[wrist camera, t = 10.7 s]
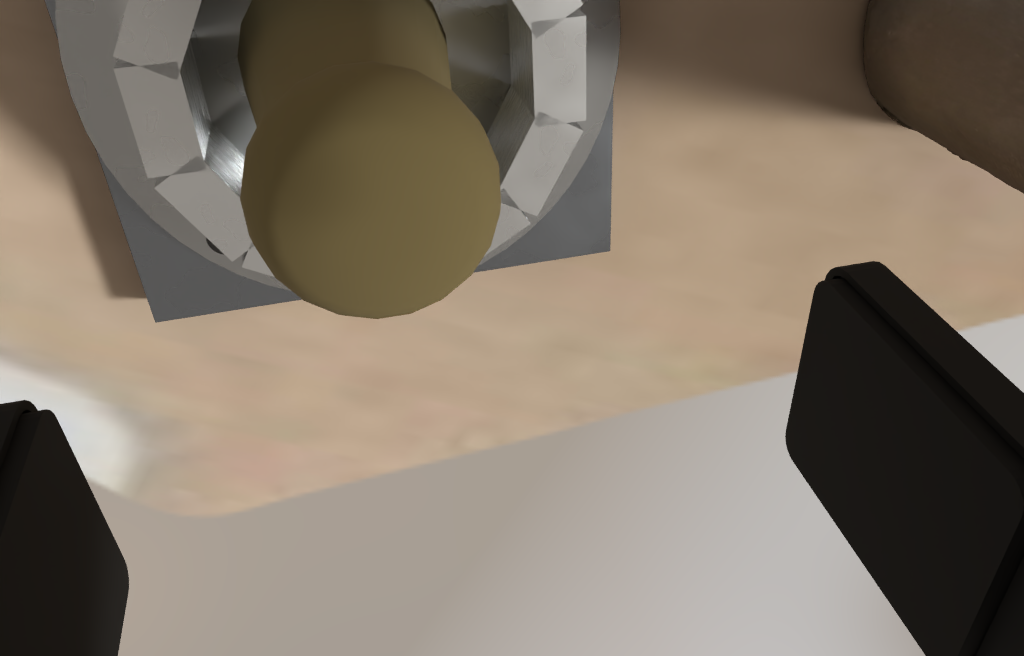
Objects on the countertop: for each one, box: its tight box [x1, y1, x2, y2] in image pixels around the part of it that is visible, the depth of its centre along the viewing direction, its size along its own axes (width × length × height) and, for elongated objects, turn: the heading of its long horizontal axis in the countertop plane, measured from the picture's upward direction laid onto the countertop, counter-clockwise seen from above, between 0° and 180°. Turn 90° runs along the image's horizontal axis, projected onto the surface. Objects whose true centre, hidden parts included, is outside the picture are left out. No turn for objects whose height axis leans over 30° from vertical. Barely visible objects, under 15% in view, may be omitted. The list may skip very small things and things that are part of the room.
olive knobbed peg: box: [237, 0, 501, 319], centre depth 21 cm, size 6×6×11 cm
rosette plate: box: [45, 0, 621, 322], centre depth 25 cm, size 16×16×5 cm
